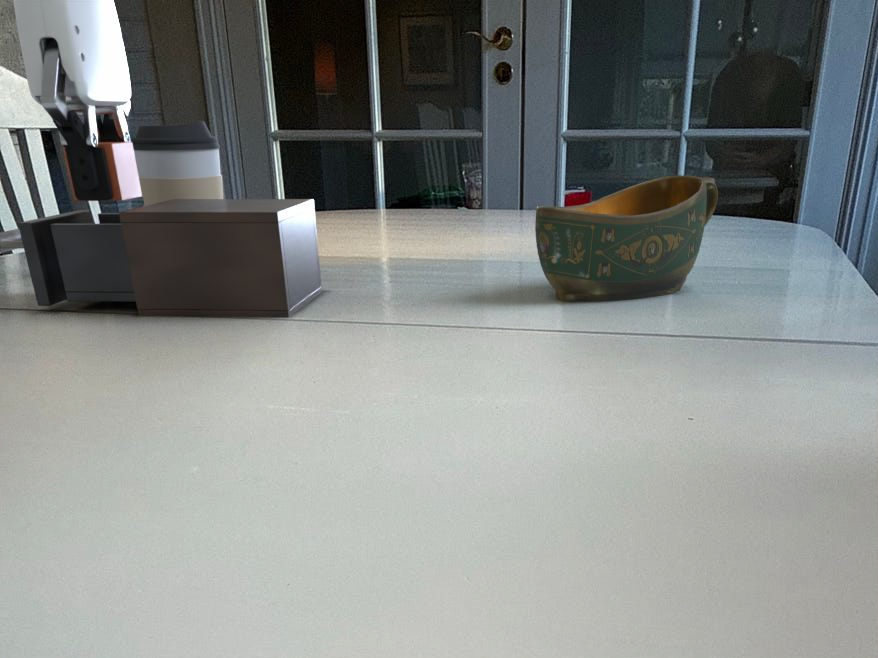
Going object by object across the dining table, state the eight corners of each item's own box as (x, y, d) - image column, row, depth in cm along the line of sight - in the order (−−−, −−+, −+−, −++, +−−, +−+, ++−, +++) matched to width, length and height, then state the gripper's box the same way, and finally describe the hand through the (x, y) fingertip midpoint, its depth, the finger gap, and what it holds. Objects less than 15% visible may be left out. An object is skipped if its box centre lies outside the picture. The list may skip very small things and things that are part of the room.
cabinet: (138, 318, 80) (118, 211, 75) (189, 293, 90) (174, 199, 86) (289, 320, 79) (277, 212, 74) (322, 294, 89) (313, 199, 85)
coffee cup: (137, 281, 97) (107, 121, 89) (180, 269, 105) (155, 120, 97) (213, 284, 95) (189, 121, 87) (251, 271, 103) (232, 119, 95)
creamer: (749, 302, 84) (765, 182, 79) (539, 309, 82) (543, 185, 77) (701, 280, 95) (713, 173, 90) (516, 286, 93) (517, 176, 88)
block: (73, 201, 79) (61, 144, 77) (96, 196, 83) (85, 142, 80) (122, 200, 79) (111, 143, 76) (142, 196, 82) (132, 141, 80)
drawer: (-21, 305, 81) (-43, 222, 77) (43, 284, 90) (25, 209, 87) (173, 307, 79) (158, 223, 76) (215, 285, 89) (204, 210, 86)
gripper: (62, -42, 79) (108, 190, 88) (-51, -76, 64) (19, 206, 74) (145, -44, 78) (183, 189, 88) (50, -79, 64) (107, 205, 73)
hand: (107, 194), depth 80 cm, fingers closed on block, 4 cm apart
